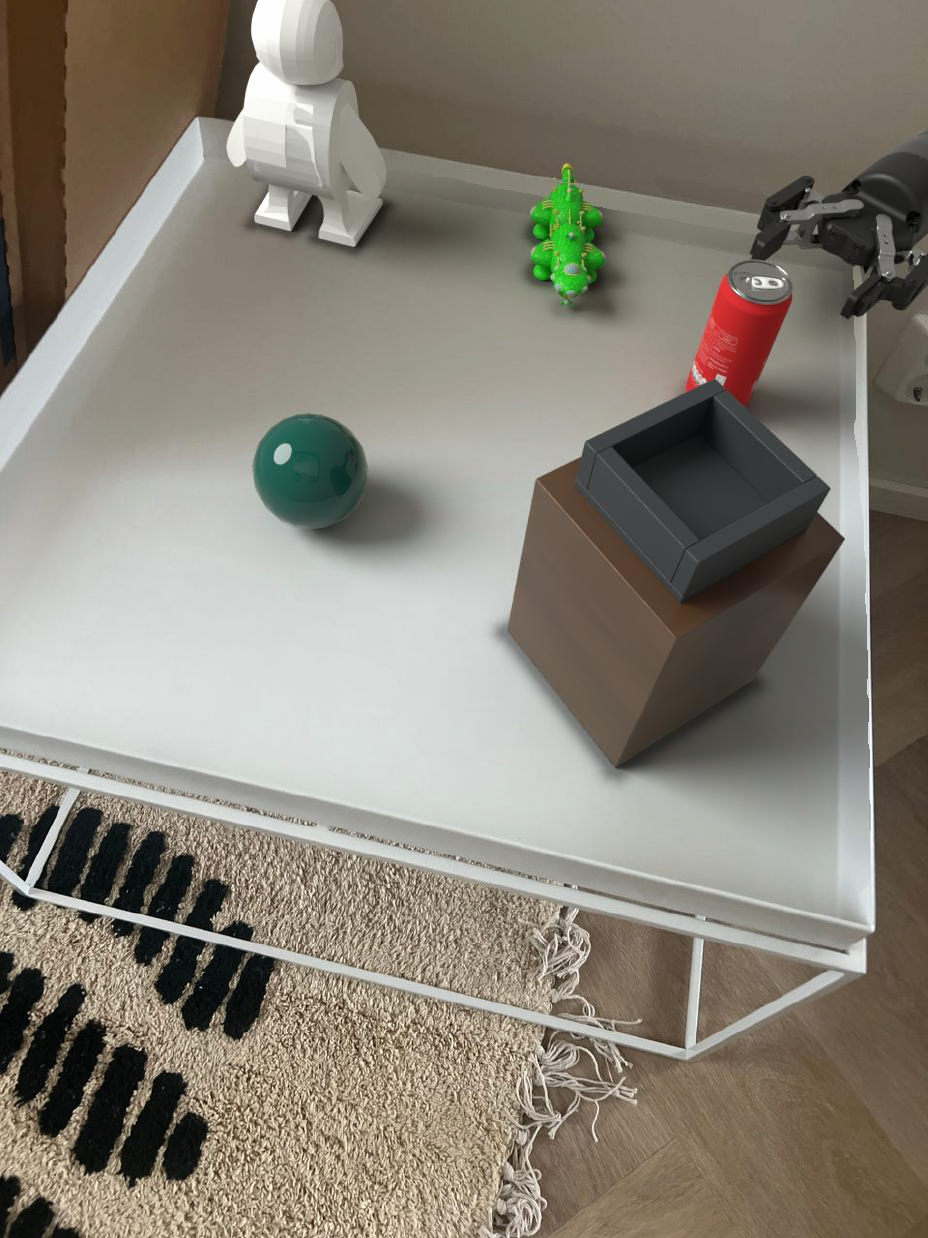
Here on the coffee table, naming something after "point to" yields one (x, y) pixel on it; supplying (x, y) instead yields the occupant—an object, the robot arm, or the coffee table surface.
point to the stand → (645, 620)
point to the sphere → (310, 471)
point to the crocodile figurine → (566, 239)
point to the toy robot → (306, 124)
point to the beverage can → (742, 327)
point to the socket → (698, 488)
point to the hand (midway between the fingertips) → (801, 280)
